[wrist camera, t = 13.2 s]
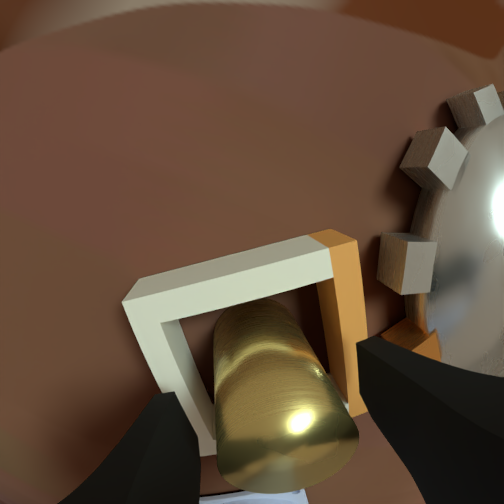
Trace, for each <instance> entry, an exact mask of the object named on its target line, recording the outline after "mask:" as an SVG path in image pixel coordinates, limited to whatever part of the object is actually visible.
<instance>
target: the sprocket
mask: <svg viewBox="0 0 504 504" xmlns="http://www.w3.org/2000/svg"><path fill="white" fill-rule="evenodd" d="M446 101H447V103H448V105H449V108H450V110H451V112H452V115H453V117H454V119H455V122H456V124H457V127H458V129H457V130H456V131H455V132H454V133H453V134H452V133H451V132H450V131H449V129H448V128H447V127H446V126H445V127H439V128H434V129H428V130H422V131H417V132H416V134H415V136H414V138H413V141H412V143H411V145H410V147H409V149H408V151H407V153H406V155H405V157H404V159H403V161H402V163H401V165H400V167H399V168H400V169H401V170H402V171H403V172H405V173H406V174H407V175H408V176H409V177H410V178H411V179H412V180H413V181H415V182H416V183H417V184H418V185H419V186H420V187H421V188H422V189H421V192H420V196H419V199H418V202H417V205H416V208H415V212H414V216H413V221H412V225H411V229H410V233H387V232H381V241H380V251H379V261H378V269H377V277H376V279H377V280H379V281H380V282H382V283H383V284H385V285H386V286H388V287H389V288H391V289H392V290H394V291H395V292H397V293H398V294H400V295H404V301H405V311H406V317H405V318H404V319H403V320H401V321H400V322H398V323H397V324H396V325H394V326H393V327H391V328H390V329H388V330H387V331H385V332H384V333H382V334H381V336H382V339H384V340H387V341H389V342H391V343H394V344H396V345H398V346H401V347H403V348H406V349H408V350H410V351H413V352H415V353H418V354H420V355H423V356H426V357H428V358H431V359H434V360H437V361H439V362H442V363H445V364H448V365H452V366H455V367H458V368H462V369H465V370H469V371H473V372H477V373H482V374H487V375H493V376H498V377H504V91H503V92H496V90H495V87H494V85H493V84H492V85H487V86H483V87H479V88H475V89H471V90H467V91H465V92H462V93H460V94H458V95H456V96H453V97H451V98H449V99H446Z"/></svg>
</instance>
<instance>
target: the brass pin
mask: <svg viewBox="0 0 504 504" xmlns="http://www.w3.org/2000/svg"><path fill="white" fill-rule="evenodd" d="M214 395H215V426H216V450H217V466H218V470H219V472H220V474H221V475H222V477H223V478H224V479H225V480H226V481H227V482H228V483H230V484H231V485H233V486H235V487H237V488H239V489H242V490H245V491H249V492H253V493H261V494H279V493H287V492H293V491H297V490H301V489H304V488H307V487H310V486H313V485H315V484H317V483H319V482H322V481H323V480H325V479H327V478H329V477H330V476H332V475H333V474H335V473H336V472H337V471H339V470H340V469H341V468H342V467H343V466H344V465H345V464H346V463H347V462H348V461H349V460H350V459H351V457H352V456H353V454H354V453H355V451H356V449H357V446H358V443H359V431H358V429H357V426H356V425H355V423H354V421H353V419H352V418H351V416H350V414H349V412H348V411H347V409H346V407H345V405H344V404H343V402H342V400H341V398H340V397H339V395H338V393H337V391H336V390H335V388H334V386H333V384H332V383H331V381H330V379H329V377H328V376H327V374H326V372H325V371H324V369H323V367H322V365H321V364H320V362H319V360H318V358H317V357H316V355H315V353H314V351H313V350H312V348H311V346H310V344H309V343H308V341H307V339H306V337H305V336H304V334H303V332H302V331H301V329H300V327H299V325H298V324H297V322H296V320H295V318H294V317H293V315H292V314H291V312H290V311H289V310H288V309H287V308H286V307H285V306H284V305H282V304H280V303H279V302H277V301H274V300H271V299H267V298H259V299H255V300H252V301H248V302H244V303H240V304H236V305H233V306H230V307H229V308H228V309H227V310H226V311H225V312H224V313H223V314H222V315H221V316H220V318H219V319H218V321H217V323H216V326H215V329H214Z"/></svg>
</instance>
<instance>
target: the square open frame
mask: <svg viewBox="0 0 504 504" xmlns="http://www.w3.org/2000/svg"><path fill="white" fill-rule="evenodd" d="M313 283H316V286H317V291H318V297H319V303H320V309H321V315H322V321H323V328H324V334H325V340H326V347H327V354H328V361H329V368H330V373H327V376H328V377H329V379H330V381H331V383H332V384H333V386H334V388H335V390H336V391H337V393H338V395H339V397H340V398H341V400H342V402H343V404H344V405H345V407H346V409H347V411H348V412H349V414H350V416H351V418H352V417H355V416H357V415H360V414H362V413H365V412H367V411H368V410H367V408H366V406H365V404H364V402H363V400H362V398H361V396H360V394H359V378H358V364H357V351H356V342H359V341H362V340H364V339H367V325H366V313H365V302H364V293H363V284H362V275H361V267H360V260H359V253H358V246H357V240H355V239H353V238H351V237H348V236H346V235H344V234H341V233H339V232H337V231H335V230H332V229H327V230H323V231H320V232H316V233H312V234H308V235H304V236H300V237H297V238H293V239H289V240H285V241H281V242H277V243H274V244H270V245H266V246H262V247H258V248H254V249H251V250H247V251H243V252H239V253H235V254H232V255H228V256H224V257H220V258H216V259H213V260H209V261H205V262H201V263H197V264H194V265H190V266H186V267H182V268H178V269H175V270H171V271H167V272H163V273H159V274H156V275H152V276H148V277H144V278H140V279H139V280H138V281H137V282H136V283H135V285H134V286H133V287H132V289H131V290H130V292H129V293H128V294H127V296H126V297H125V298H124V300H123V301H122V304H123V307H124V309H125V312H126V314H127V317H128V319H129V322H130V324H131V326H132V329H133V331H134V334H135V336H136V338H137V341H138V343H139V345H140V347H141V350H142V352H143V354H144V356H145V358H146V361H147V363H148V365H149V367H150V369H151V371H152V373H153V375H154V377H155V380H156V382H157V384H158V386H159V388H160V390H161V392H162V393H167V392H173V391H174V392H175V394H176V396H177V398H178V400H179V402H180V404H181V406H182V408H183V409H184V411H185V413H186V415H187V417H188V419H189V421H190V423H191V425H192V427H193V428H194V430H195V432H196V434H197V436H198V441H199V451H200V457H201V456H208V455H214V454H217V450H216V426H215V404H212V402H211V400H210V398H209V395H208V393H207V391H206V388H205V386H204V384H203V381H202V379H201V377H200V374H199V372H198V369H197V367H196V364H195V362H194V359H193V357H192V354H191V352H190V349H189V347H188V344H187V342H186V339H185V336H184V334H183V331H182V328H181V326H180V323H179V320H178V319H180V318H184V317H188V316H193V315H197V314H201V313H205V312H209V311H213V310H217V309H221V308H225V307H229V306H233V305H236V304H240V303H244V302H248V301H252V300H255V299H259V298H263V297H266V296H270V295H274V294H277V293H281V292H285V291H288V290H292V289H295V288H299V287H302V286H306V285H309V284H313Z"/></svg>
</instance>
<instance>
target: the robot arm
mask: <svg viewBox="0 0 504 504" xmlns="http://www.w3.org/2000/svg"><path fill="white" fill-rule="evenodd" d="M356 351H357V364H358V378H359V394H360V396H361V398H362V400H363V402H364V404H365V406H366V408H367V410H368V411H369V413H370V415H371V417H372V419H373V420H374V422H375V423H376V425H377V426H378V428H379V429H380V431H381V432H382V433H383V435H384V436H385V438H386V439H387V440H388V442H389V443H390V445H391V446H392V448H393V449H394V450H395V452H396V453H397V455H398V456H399V457H400V459H401V460H402V462H403V463H404V464H405V466H406V467H407V469H408V471H409V472H410V474H411V475H412V477H413V479H414V481H415V483H416V485H417V486H418V488H419V490H420V492H421V494H422V496H423V498H424V500H425V502H426V504H504V377H498V376H493V375H487V374H482V373H477V372H473V371H469V370H465V369H462V368H458V367H455V366H452V365H448V364H445V363H442V362H439V361H437V360H434V359H431V358H428V357H426V356H423V355H420V354H418V353H415V352H413V351H410V350H408V349H406V348H403V347H401V346H398V345H396V344H394V343H391V342H389V341H387V340H384V339H382V338H379V337H376V336H372V337H370V338H367V339H364V340H362V341H359V342H356ZM200 472H201V462H200V451H199V441H198V436H197V434H196V432H195V430H194V428H193V427H192V425H191V423H190V421H189V419H188V417H187V415H186V413H185V411H184V409H183V408H182V406H181V404H180V402H179V400H178V398H177V396H176V394H175V392H174V391H173V392H167V393H161V394H155V395H154V396H153V398H152V399H151V400H150V402H149V403H148V404H147V406H146V407H145V408H144V410H143V411H142V412H141V414H140V415H139V417H138V418H137V419H136V421H135V422H134V423H133V425H132V426H131V427H130V429H129V430H128V431H127V433H126V434H125V435H124V437H123V438H122V439H121V441H120V442H119V443H118V444H117V446H116V447H115V448H114V449H113V450H112V451H111V453H110V454H109V455H108V456H107V457H106V459H105V460H104V461H103V462H102V463H101V464H100V466H99V467H98V468H97V469H96V470H95V471H94V472H93V473H92V474H91V475H90V476H89V477H88V478H87V479H86V480H85V481H84V482H83V483H82V484H81V485H80V486H79V487H78V488H76V489H75V490H74V491H73V492H72V493H71V494H70V495H68V496H67V497H66V498H64V499H63V500H62V501H60V502H59V503H58V504H308V500H307V497H306V493H305V490H304V489H301V490H297V491H293V492H287V493H279V494H261V493H253V492H249V491H242V492H237V493H230V494H223V495H216V496H208V497H200Z"/></svg>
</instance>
